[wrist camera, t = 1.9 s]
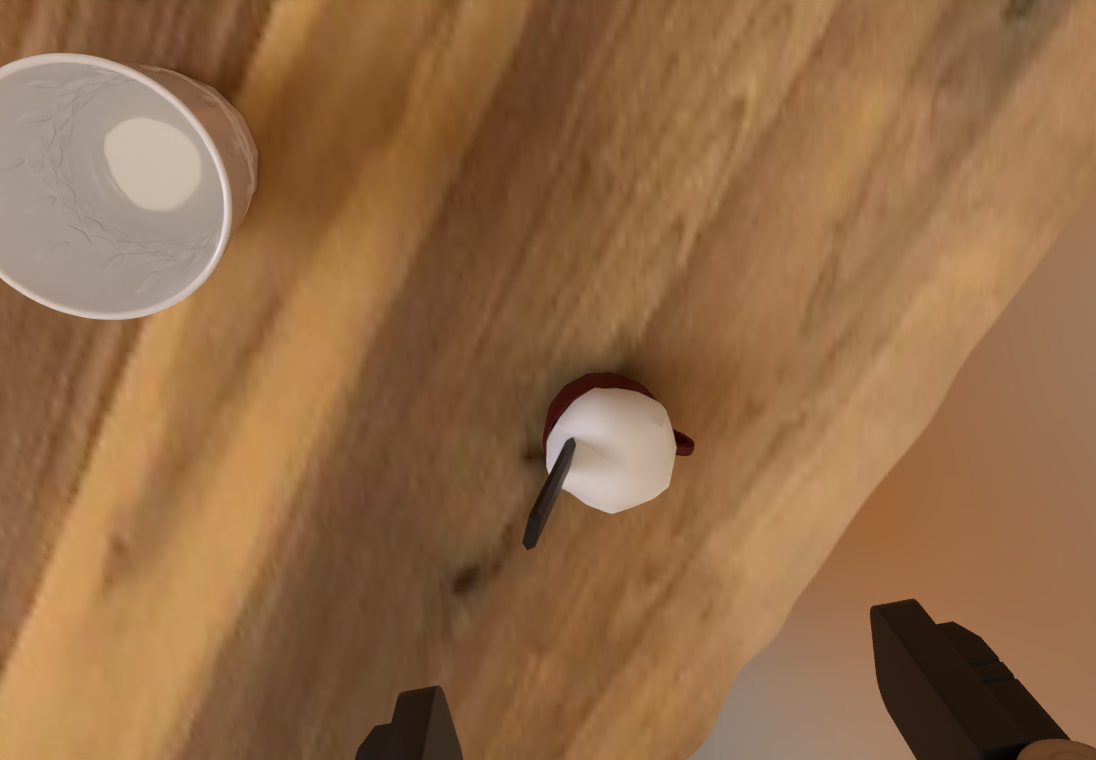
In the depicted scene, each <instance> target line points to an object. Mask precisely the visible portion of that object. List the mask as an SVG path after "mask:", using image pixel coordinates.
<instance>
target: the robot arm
mask: <svg viewBox="0 0 1096 760" xmlns="http://www.w3.org/2000/svg"><path fill="white" fill-rule="evenodd" d="M870 620H871V630H872V639H873V649H874V658H875V667H876V677H877V682H878V686H879V690H880V693H881V696H882V699H883V701H884V704H885V706H886V708H887V711H888V712H889V714H890V716H891V718H892V719H893V721H894V723H895V724H896V726H897V728H898V729H899V731H900V733H901V734H902V736H903V737H904V739H905V741H906V743H907V744H908V746H909V747H910V749H911V751H912V753H913V754H914V756H915V757H916V759H917V760H1096V748H1094V747H1092V746H1089V745H1087V744H1083V743H1080V742H1076V741H1072V740H1070V738H1069V737H1068V736H1067V735H1066V734H1065V733H1064V732H1063V730H1062V729H1061V728H1060V727H1059V726H1058V725H1057V724H1056V723H1055V721H1054V720H1053V719H1052V718H1051V717H1050V716H1049V714H1048V713H1047V712H1046V711H1045V710H1044V709H1043V708H1042V707H1041V705H1040V704H1039V703H1038V702H1037V701H1036V700H1035V699H1034V698H1033V696H1032V695H1031V694H1030V693H1029V692H1028V691H1027V689H1026V688H1025V687H1024V686H1023V685H1022V684H1021V683H1020V681H1019V680H1018V679H1015V678H1014V675H1013V673H1011V671H1010V670H1009V669H1008V668H1007V667H1006V666H1005V664H1004V663H1003V662H1000V661H999V658H998V656H997V655H996V654H995V653H994V652H993V651H992V650H991V648H990V647H989V646H988V645H987V644H986V643H985V642H984V640H983V639H982V638H981V637H979V636H978V635H976V634H974V633H972V632H971V631H969V630H967V629H965V628H964V627H962V626H960V625H958V624H957V623H955V622H947V623H942V624H935V622H934V621H933V620H932V619H931V617H930V616H929V615H928V614H927V612H926V611H925V610H924V609H923V608H922V606H921V605H920V604H919V603H918V602H917V601H916V600H915V599H908V600H903V601H898V602H892V603H887V604H881V605H875V606H872V607H871V609H870ZM355 760H463V756H462V751H461V748H460V744H459V741H458V738H457V734H456V731H455V728H454V724H453V721H452V718H451V715H450V711H449V708H448V705H447V701H446V698H445V695H444V692H443V690H442V688H441V687H440V686H439V685H437V686H432V687H427V688H421V689H416V690H410V691H405V692H401V693H400V694H399V696H398V699H397V702H396V706H395V710H394V714H393V718H392V722H391V723H389V724H384V725H378V726H375V727H374V728H373V730H372V731H371V732H370V734H369V735H368V736H367V738H366V739H365V740H364V742H363V743H362V744H361V746H360V747H359V748H358V751H357V754H356V757H355Z"/></svg>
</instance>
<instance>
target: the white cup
mask: <svg viewBox="0 0 1096 760" xmlns="http://www.w3.org/2000/svg"><path fill="white" fill-rule="evenodd" d="M257 172H258V150H257V148H256V145H255V143H254V141H253V138H252V136H251V133H250V131H249V129H248V126H247V124H246V121H245V119H244V117H243V115H242V114H241V113H240V112H239V111H238V110H237V109H236V108H235V107H233V106H232V105H231V104H230V103H229V102H228V101H227V100H226V99H225V98H224V97H223V96H222V95H221V94H220V93H219V92H218V91H217V90H216V89H215V88H214V87H213V86H210V85H208V84H205V83H203V82H200V81H198V80H195V79H193V78H190V77H188V76H185V75H183V74H180V73H178V72H175V71H171V70H168V69H165V68H161V67H157V66H152V65H147V64H143V63H139V62H133V61H125V60H118V59H111V58H104V57H97V56H91V55H84V54H75V53H51V54H42V55H36V56H31V57H27V58H23V59H20V60H17V61H14V62H11V63H9V64H7V65H5V66H2V67H1V68H0V278H1V279H2V280H4V281H5V282H6V283H7V284H9V285H10V286H11V287H13V288H14V289H16V290H17V291H19V292H20V293H22V294H24V295H25V296H27V297H29V298H31V299H32V300H34V301H36V302H38V303H41V304H43V305H45V306H47V307H50V308H52V309H55V310H58V311H61V312H64V313H67V314H71V315H75V316H80V317H85V318H92V319H102V320H122V319H132V318H138V317H143V316H147V315H151V314H154V313H158V312H160V311H163V310H165V309H168V308H170V307H172V306H174V305H176V304H178V303H179V302H181V301H183V300H184V299H186V298H187V297H188V296H190V295H191V294H192V293H194V292H195V291H196V290H197V289H198V288H199V287H200V286H201V285H202V284H203V283H204V282H205V281H206V280H207V279H208V278H209V276H210V275H211V274H212V272H213V271H214V270H215V268H216V266H217V265H218V263H219V261H220V260H221V258H222V256H223V255H224V253H225V251H226V249H227V248H228V246H229V244H230V243H231V242H232V240H233V239H234V237H235V235H236V234H237V232H238V230H239V228H240V225H241V223H242V221H243V219H244V217H245V215H246V213H247V211H248V208H249V205H250V202H251V198H252V196H253V194H254V192H255V191H256V189H257Z"/></svg>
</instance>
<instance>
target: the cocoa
mask: <svg viewBox="0 0 1096 760" xmlns="http://www.w3.org/2000/svg"><path fill="white" fill-rule="evenodd" d="M676 442H677V443H676ZM543 447H544V452H545V455H546V458H547V470H548V473H549V476H548V478H547V480H546V482H545V484H544V486H543V488H542V490H541V492H540V494H539V496H538V498H537V500H536V502H535V504H534V507H533V509H532V511H531V513H530V515H529V518H528V522H527V526H526V530H525V534H524V538H523V542H522V543H523V545H524V546H525V548H526V549H527V550H529V549H531V548H534V547H535V546H536V543H537V541H538V539H539V537H540V534H541V532H542V530H543V528H544V525H545V523H546V521H547V519H548V516H549V514H550V512H551V510H552V507H553V505H554V503H555V501H556V498H557V496H558V494H559V492H560V490H561V488H562V489H564V490H566V491H568V492H570V493H571V494H573V495H574V496H576V497H577V498H578V499H580V500H581V501H582V502H584V503H585V504H587V505H589V506H591V507H594V508H597V509H599V510H602V511H604V512H607V513H611V514H614V513H617V512H620V511H623V510H626V509H629V508H632V507H634V506H637V505H639V504H642V503H644V502H647V501H649V500H652V499H654V498H655V497H656V496H658V495H659V494H660V493H661V492H663V491H664V490H665V489H666V488H668V487H669V483H670V479H671V474H672V469H673V465H674V459H675V455H680V456H688V455H691V454H692V452H693V450H694V442H693V440H692V439H691V438H689V437H688V436H686V435H684V434H683V433H681V432H678V431H676V430H674V429H672V427H671V423H670V420H669V417H668V413H667V411H666V409H665V408H664V407H663V406H662V404H661V403H659V402H658V401H657V400H656V399H655V398H654V397H653V396H652V394H651V393H650V392H649V391H648V390H647V389H646V388H645V387H644V386H643V385H641V384H640V383H638V382H636V381H633V380H631V379H628V378H625V377H622V376H620V375H617V374H614V373H612V372H606V373H594V374H586V375H584V376H582V377H580V378H578V379H577V380H575V381H573V382H571V383H569V384H567V385H565V386H564V388H563V389H562V390H561V392H560V393H559V394H558V395H557V397H556V398H555V399H554V401H553V402H552V403H551V405H550V407H549V410H548V415H547V420H546V425H545V430H544V435H543Z"/></svg>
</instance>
